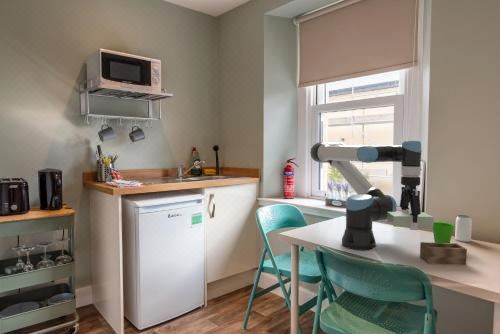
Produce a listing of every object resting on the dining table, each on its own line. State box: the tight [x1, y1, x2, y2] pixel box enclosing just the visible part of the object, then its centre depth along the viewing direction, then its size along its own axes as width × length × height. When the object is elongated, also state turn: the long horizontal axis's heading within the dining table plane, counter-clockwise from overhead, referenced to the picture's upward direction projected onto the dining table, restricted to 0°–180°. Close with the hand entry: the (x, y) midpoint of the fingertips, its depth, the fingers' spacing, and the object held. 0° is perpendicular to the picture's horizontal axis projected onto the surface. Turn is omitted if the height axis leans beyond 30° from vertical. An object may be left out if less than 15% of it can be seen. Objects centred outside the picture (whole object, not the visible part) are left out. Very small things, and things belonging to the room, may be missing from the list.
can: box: [454, 214, 473, 243], centre depth 151 cm, size 6×6×12 cm
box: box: [419, 241, 468, 266], centre depth 122 cm, size 14×7×7 cm, turn 83°
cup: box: [432, 221, 456, 243], centre depth 140 cm, size 9×9×11 cm
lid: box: [386, 211, 435, 228], centre depth 135 cm, size 16×9×4 cm, turn 83°
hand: (409, 226), depth 135 cm, fingers closed on lid, 9 cm apart
